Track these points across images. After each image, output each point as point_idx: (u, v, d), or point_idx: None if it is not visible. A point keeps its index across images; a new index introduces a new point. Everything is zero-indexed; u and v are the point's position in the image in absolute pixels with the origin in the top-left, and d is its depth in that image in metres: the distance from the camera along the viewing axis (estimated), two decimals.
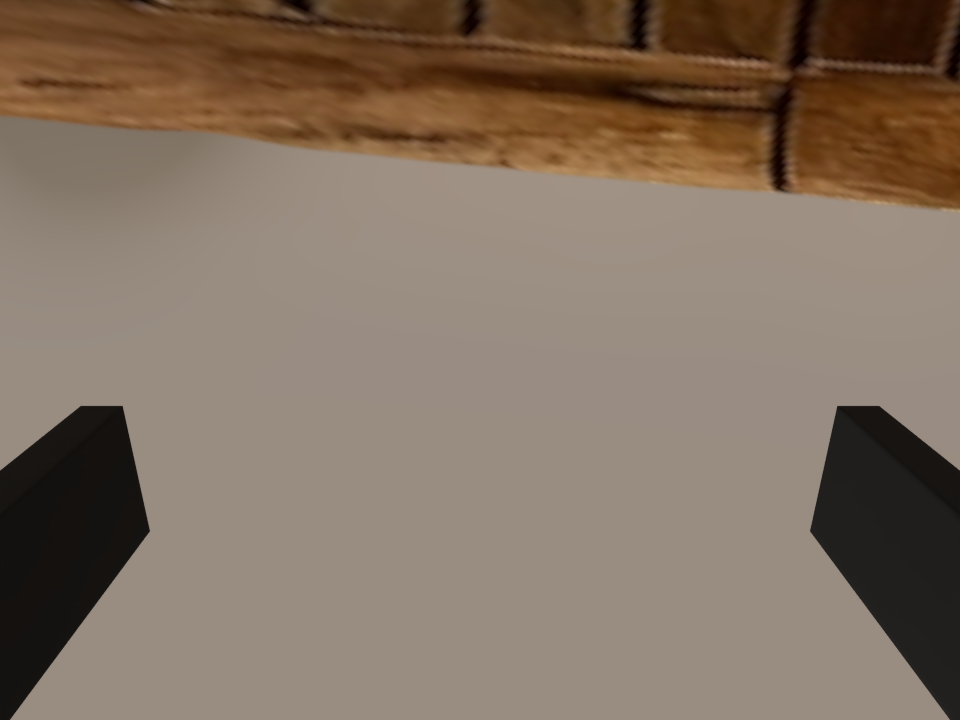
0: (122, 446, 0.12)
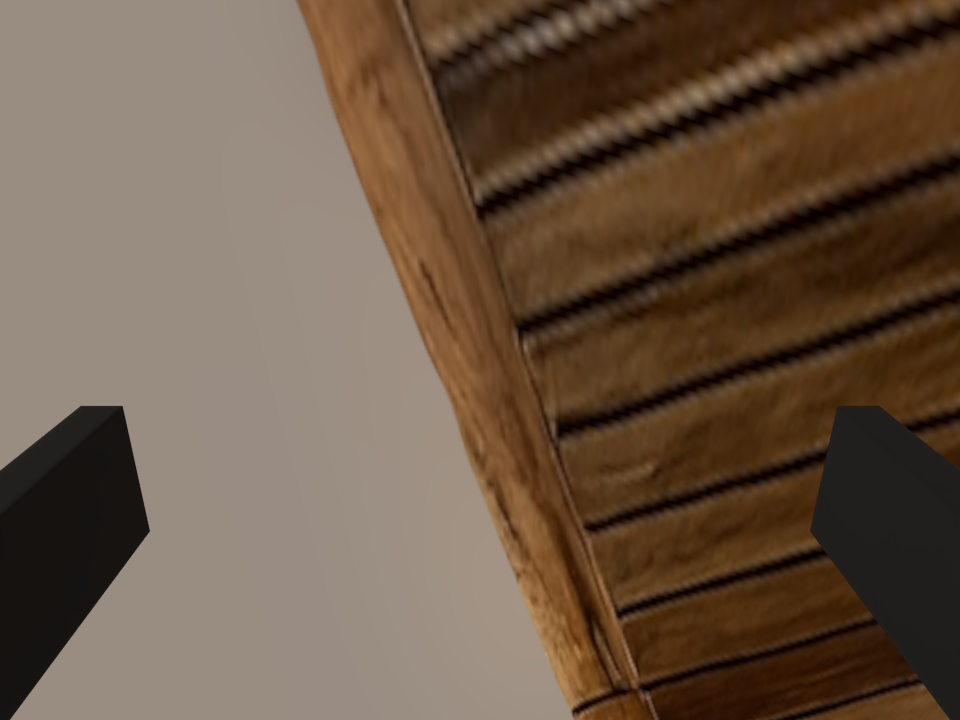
0: (122, 446, 0.12)
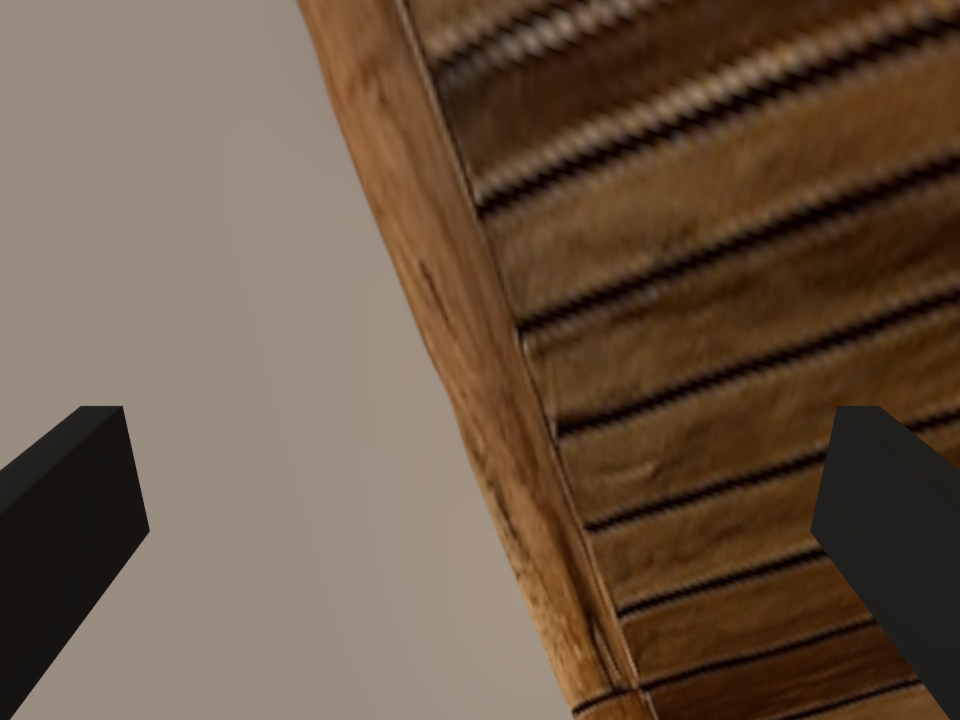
0: (122, 446, 0.12)
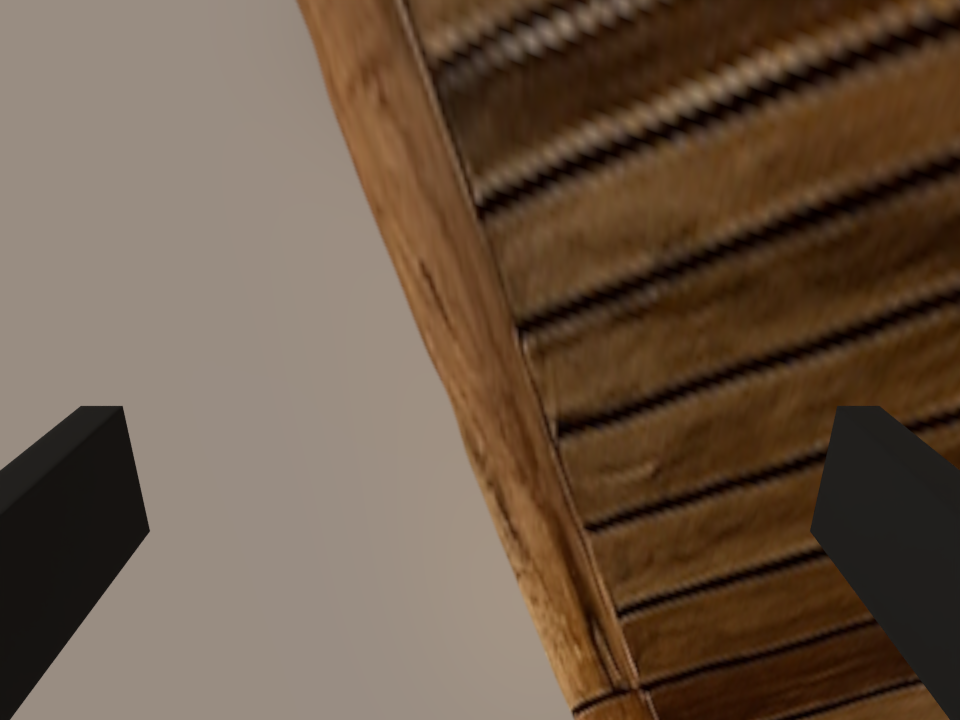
0: (122, 446, 0.12)
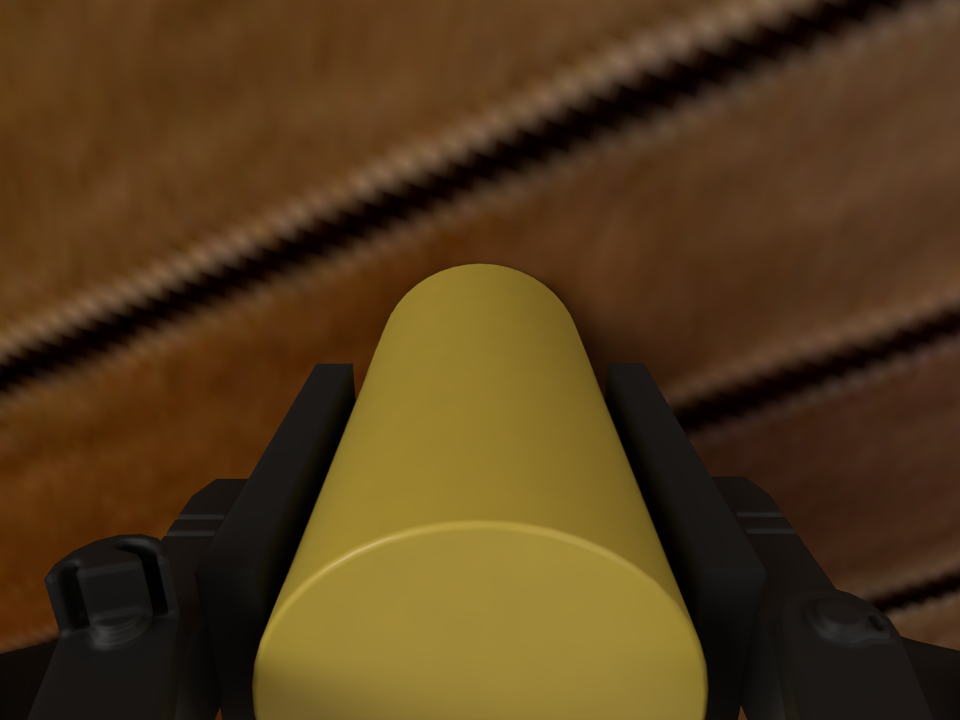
0: (352, 399, 0.14)
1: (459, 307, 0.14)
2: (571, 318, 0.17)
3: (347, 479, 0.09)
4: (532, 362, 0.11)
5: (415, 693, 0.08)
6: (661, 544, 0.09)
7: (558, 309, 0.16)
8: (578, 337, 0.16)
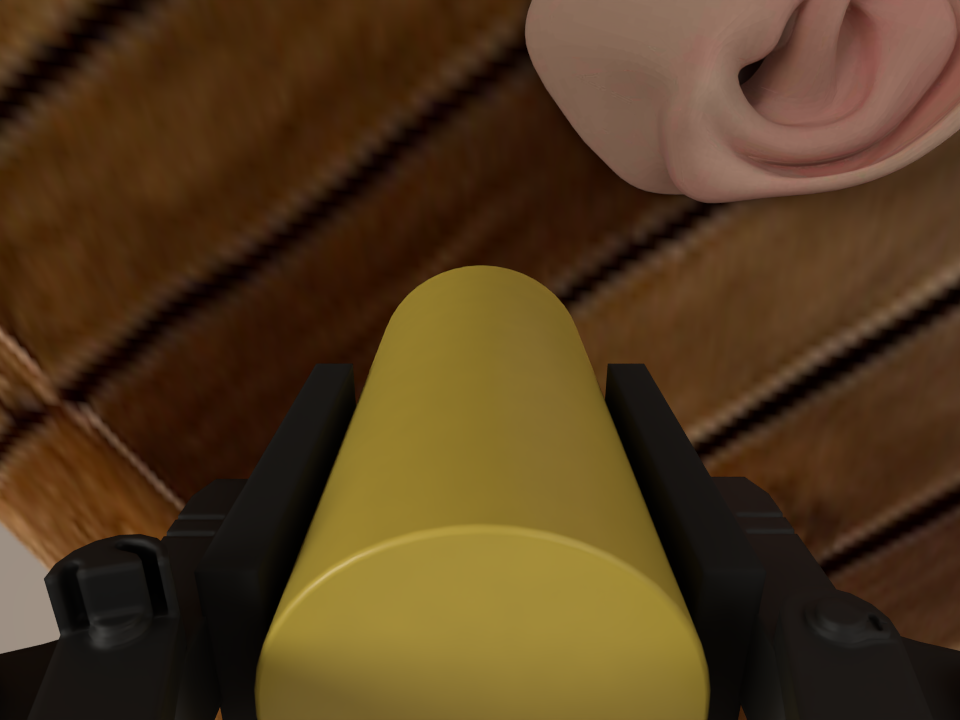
0: (352, 399, 0.14)
1: (460, 309, 0.14)
2: (572, 320, 0.17)
3: (349, 483, 0.09)
4: (534, 364, 0.11)
5: (416, 697, 0.08)
6: None
7: (559, 311, 0.16)
8: (579, 339, 0.16)
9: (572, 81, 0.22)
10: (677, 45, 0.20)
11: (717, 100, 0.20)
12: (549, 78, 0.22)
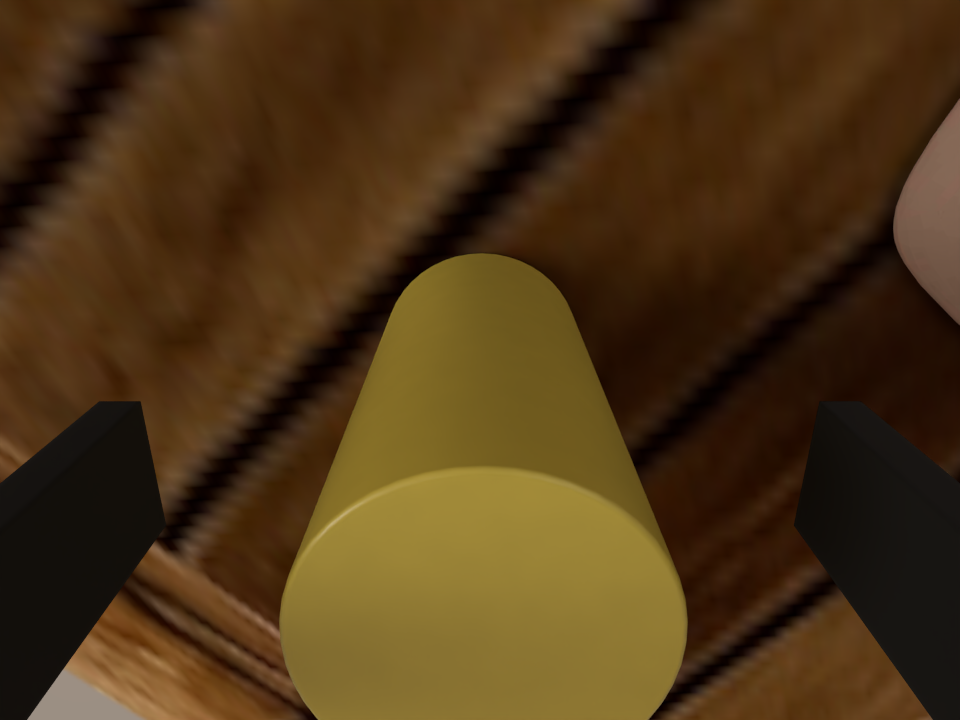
0: (140, 441, 0.12)
1: (461, 291, 0.15)
2: (567, 305, 0.18)
3: (363, 440, 0.10)
4: (531, 339, 0.12)
5: (425, 625, 0.09)
6: None
7: (555, 295, 0.17)
8: (574, 322, 0.17)
9: None
10: None
11: None
12: (930, 276, 0.17)
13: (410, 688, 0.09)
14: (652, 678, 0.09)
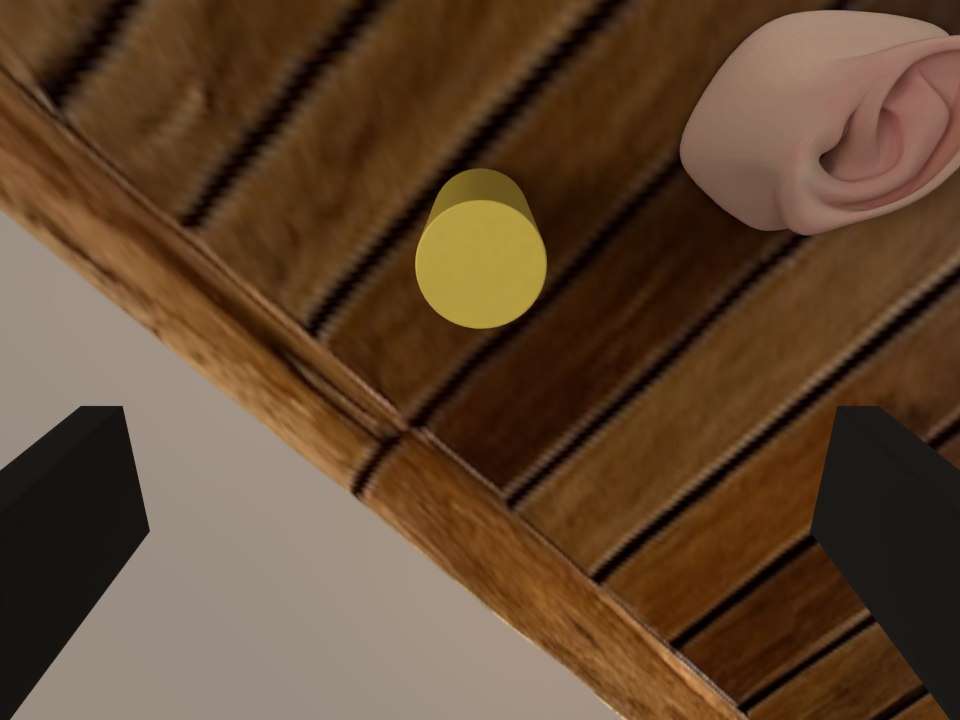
0: (122, 446, 0.12)
1: (472, 177, 0.33)
2: (523, 194, 0.36)
3: (439, 208, 0.28)
4: (500, 187, 0.31)
5: (462, 258, 0.27)
6: None
7: (515, 185, 0.35)
8: (524, 198, 0.35)
9: (714, 178, 0.36)
10: (780, 152, 0.34)
11: (809, 178, 0.34)
12: (699, 178, 0.36)
13: (457, 284, 0.27)
14: (536, 280, 0.27)
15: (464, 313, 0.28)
